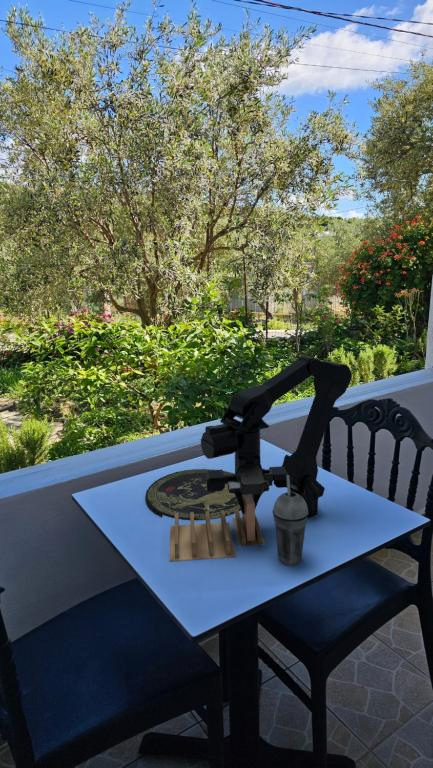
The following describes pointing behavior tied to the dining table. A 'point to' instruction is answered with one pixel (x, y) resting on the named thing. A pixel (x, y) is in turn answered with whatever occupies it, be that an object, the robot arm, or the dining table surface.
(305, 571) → the dining table surface
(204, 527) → the rack
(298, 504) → the beverage cup
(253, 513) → the wooden block
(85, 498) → the dining table surface
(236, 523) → the holder
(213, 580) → the dining table surface
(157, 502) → the decorative plate
